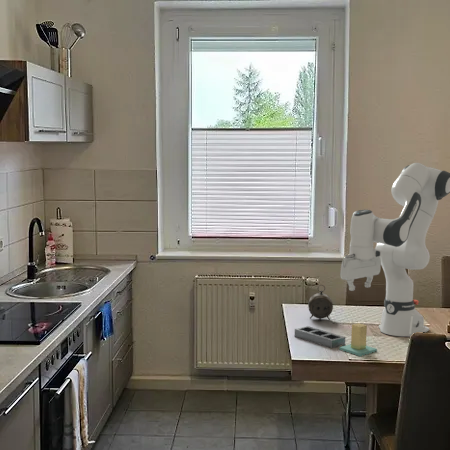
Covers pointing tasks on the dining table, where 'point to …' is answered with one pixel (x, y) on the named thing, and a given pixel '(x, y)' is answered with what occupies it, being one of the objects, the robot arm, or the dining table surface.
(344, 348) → the teal board
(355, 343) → the brass peg
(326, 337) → the grey peg holder tray
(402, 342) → the dining table surface
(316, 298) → the alarm clock
